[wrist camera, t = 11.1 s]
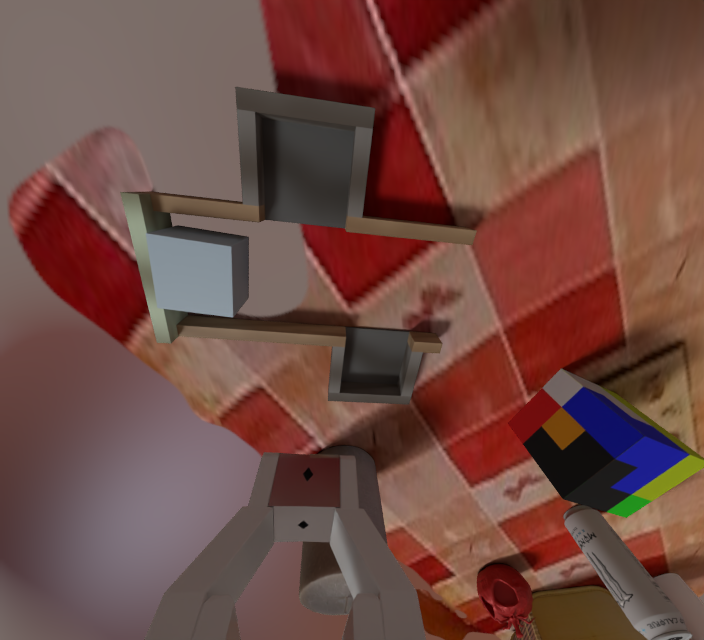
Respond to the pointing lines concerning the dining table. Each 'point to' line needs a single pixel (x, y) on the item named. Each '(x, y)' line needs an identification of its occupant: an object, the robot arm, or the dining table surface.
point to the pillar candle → (318, 558)
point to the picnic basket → (577, 616)
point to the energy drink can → (625, 577)
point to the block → (199, 270)
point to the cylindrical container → (684, 602)
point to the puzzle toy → (600, 446)
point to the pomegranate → (505, 595)
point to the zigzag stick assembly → (306, 208)
